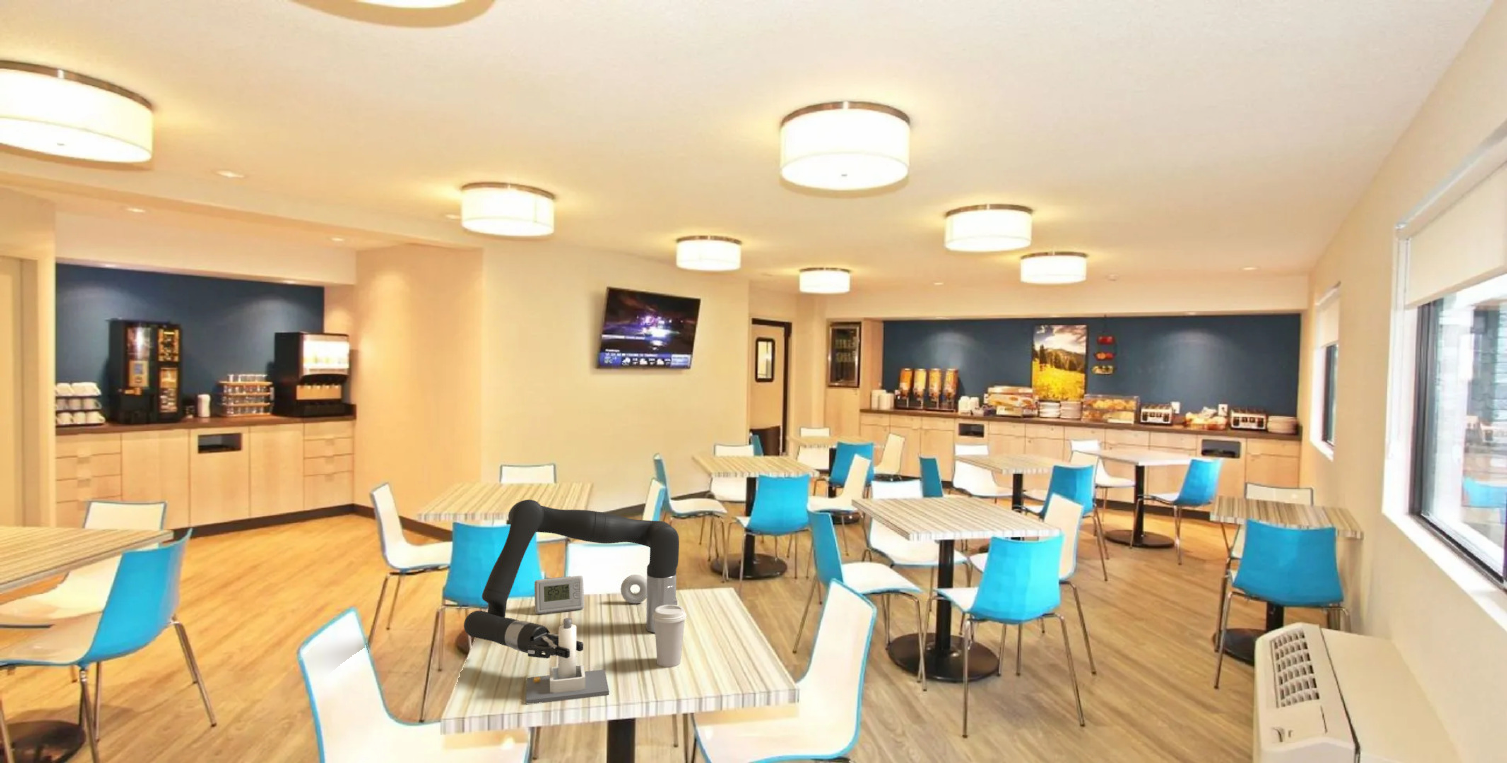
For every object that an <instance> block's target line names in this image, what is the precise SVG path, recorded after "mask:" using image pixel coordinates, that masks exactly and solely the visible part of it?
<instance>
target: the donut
mask: <svg viewBox="0 0 1507 763" xmlns="http://www.w3.org/2000/svg"><path fill="white" fill-rule="evenodd" d="M635 585H636V586H638V587H639V591H638V592H637V593H633V592H632V590H631V588H632V586H635ZM620 593H621V594H620V595H621V597H622V598H623V599H624V600H625V601H626V602H628V603H630V604H635V605H636V604H640V603H641V602H643V601H645V600H647V578H645V577H644V576H642V575H640V574H631V575H629V576H627V577H626V578H624V580H623V581H622V583H621V586H620Z"/></svg>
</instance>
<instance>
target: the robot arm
mask: <svg viewBox="0 0 1507 763" xmlns="http://www.w3.org/2000/svg"><path fill="white" fill-rule="evenodd" d="M507 519H508V522H509V524H510V525H509V530H508V533H507V536H506V537H507V538H506V540H505V543H504V546H503V548H502V550H501V552H500V554H499V556H498V558H497V559H496V562H495V563H494V565H493V567H492V569H491V572H490V573H489V576H488V578H487V581H486V583H485V586H484V588H483V591H482V594H481V599H482V600H483V601H484V602H485V603H487V611H485V610H475V611H472V612H470V613H469V614H467V616H466V618H465V620H464V623H463V628H464V631H465V633H466V635H468V636H469V637H472V638H476V639H480V640H486V641H490V642H494V643H497V644H499V645H501V646H505V647H508V648H510V649H512V650H515V651H518V652H521V653H525V654H527V657H529V658H530V657H531V658H540V659H550V658H551V657H558V656H560V657H564V658H569V657H570V650H569V649H568V648H564V647H560V646H559V633H556V632H550V631H549V629H548V628H547V627H546V626H545V625H541V624H537V623H534V622H531V621H526V620H518V619H515V618H511V617H506V613H507V612H506V611H507V603H508V598H509V597H510V595H511V591H512V589H513V587H514V583H515V581H516V578H517V574H518V572H519V569H520V567H521V564H522V561H523V559H524V556H525V555H526V551H527V549H528V548H529V546H530V543H531V541H532V539H533V537H534V536H535V534H536V533H543V534H545V533H546V534H553V535H558V536H562V537H566V538H570V539H573V540H578V541H583V542H589V543H594V544H595V543H596V544H618V543H629V544H630V543H631V544H636V545H642V546H645V547H648V548H649V563H648V564H647V566H646V580H647V598H646V621H645V624H646V626H645V627H646V628H645V629H646V630H647V631H648V632H651V633H654V634H655V625H654V620H653V618H652V616H653V613H654V612H655V609H656V608H657V607H659V606H662V605H678V598H677V570H678V569H677V568H678V566H679V558H680V556H679V555H680V537H679V533H678V531H677V529H675V527H674V526H672V525H670V523H668V522H665V521H663V520H647V519H645V520H643V519H635V518H629V517H626V516H622V515H617V514H612V513H608V512H602V511H598V510H597V511H595V510H587V509H561V508H560V509H558V508H552V507H548V506H544V505H541V504H540V503H539V502H538V501H536V500H534V499H523V500H520V501H518V502H516V503H515V504H514V505H513V506H512V507H510V509H509V511H508V515H507ZM582 651H584V642H582V641H578V640H576V652H582Z"/></svg>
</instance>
